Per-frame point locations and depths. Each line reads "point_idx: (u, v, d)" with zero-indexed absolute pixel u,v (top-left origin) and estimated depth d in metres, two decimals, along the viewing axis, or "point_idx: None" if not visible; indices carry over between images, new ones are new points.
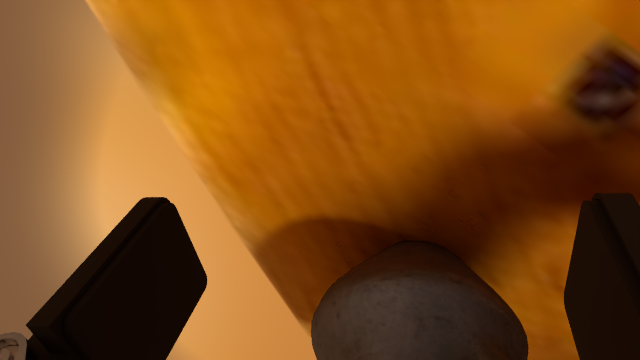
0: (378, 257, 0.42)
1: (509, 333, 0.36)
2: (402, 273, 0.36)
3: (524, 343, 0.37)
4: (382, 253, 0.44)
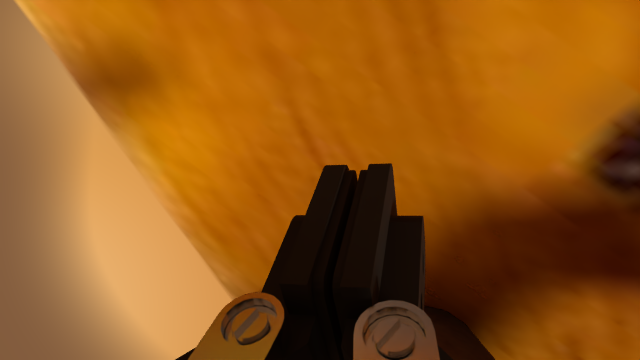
0: None
1: None
2: None
3: None
4: None
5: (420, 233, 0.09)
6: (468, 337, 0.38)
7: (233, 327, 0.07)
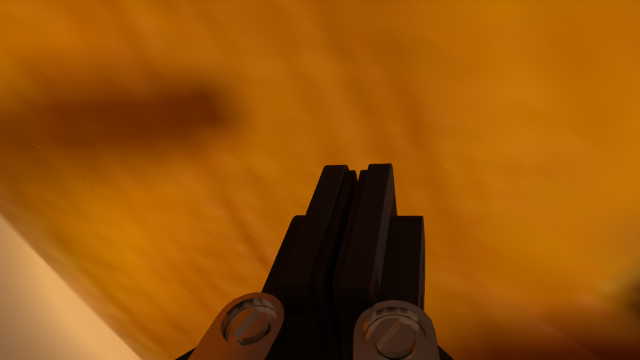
0: None
1: None
2: None
3: None
4: None
5: (420, 233, 0.09)
6: None
7: (233, 327, 0.07)
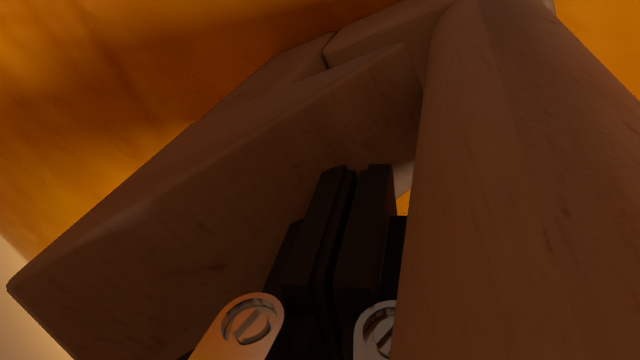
0: None
1: None
2: None
3: None
4: None
5: None
6: None
7: (233, 327, 0.07)
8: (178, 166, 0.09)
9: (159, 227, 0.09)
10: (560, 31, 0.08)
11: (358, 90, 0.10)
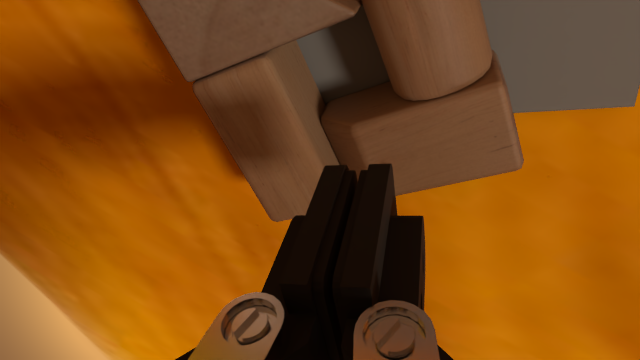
0: None
1: None
2: None
3: None
4: None
5: (420, 233, 0.09)
6: None
7: (233, 327, 0.07)
8: None
9: None
10: None
11: None
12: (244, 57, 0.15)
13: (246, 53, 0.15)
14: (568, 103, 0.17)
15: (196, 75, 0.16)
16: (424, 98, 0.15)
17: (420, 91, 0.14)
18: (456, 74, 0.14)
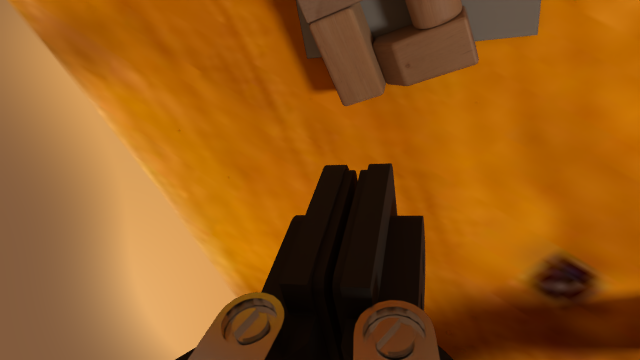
0: None
1: None
2: None
3: None
4: None
5: (420, 233, 0.09)
6: None
7: (233, 327, 0.07)
8: None
9: None
10: None
11: None
12: (339, 8, 0.31)
13: (341, 6, 0.30)
14: (504, 34, 0.32)
15: (313, 18, 0.31)
16: (429, 27, 0.30)
17: (427, 23, 0.30)
18: (444, 13, 0.29)
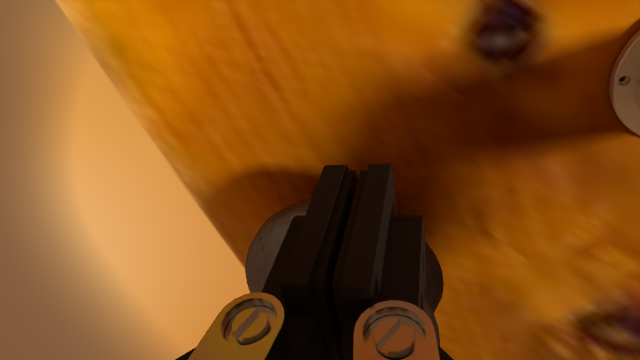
0: None
1: None
2: None
3: (435, 271, 0.40)
4: None
5: (420, 233, 0.09)
6: None
7: (233, 327, 0.07)
8: None
9: None
10: None
11: None
12: None
13: None
14: None
15: None
16: None
17: None
18: None
